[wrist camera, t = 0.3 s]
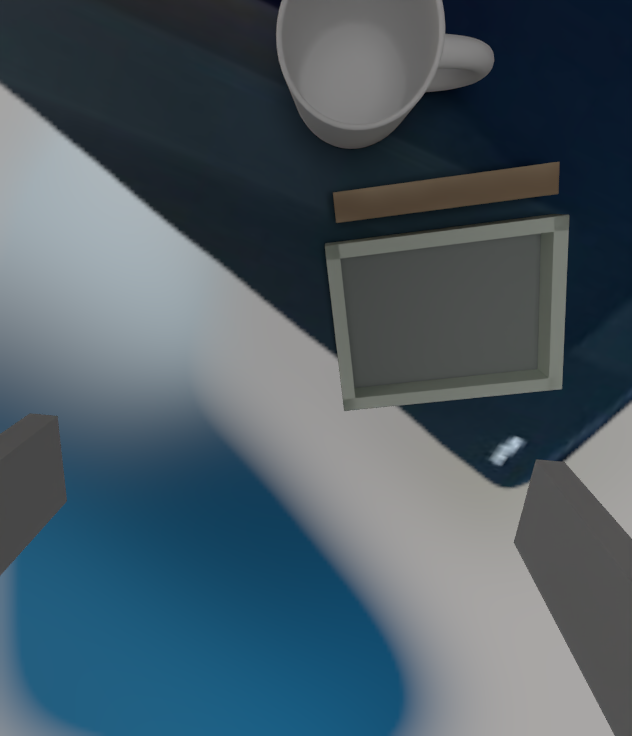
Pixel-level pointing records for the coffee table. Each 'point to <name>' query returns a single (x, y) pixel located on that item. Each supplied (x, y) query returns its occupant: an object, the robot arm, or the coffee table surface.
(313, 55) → the mug
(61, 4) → the coffee table surface
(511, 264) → the frame
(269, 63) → the coffee table surface
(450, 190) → the edge rail
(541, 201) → the coffee table surface
